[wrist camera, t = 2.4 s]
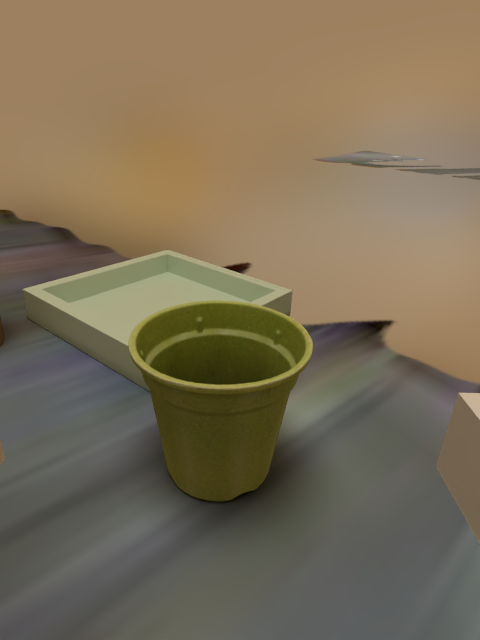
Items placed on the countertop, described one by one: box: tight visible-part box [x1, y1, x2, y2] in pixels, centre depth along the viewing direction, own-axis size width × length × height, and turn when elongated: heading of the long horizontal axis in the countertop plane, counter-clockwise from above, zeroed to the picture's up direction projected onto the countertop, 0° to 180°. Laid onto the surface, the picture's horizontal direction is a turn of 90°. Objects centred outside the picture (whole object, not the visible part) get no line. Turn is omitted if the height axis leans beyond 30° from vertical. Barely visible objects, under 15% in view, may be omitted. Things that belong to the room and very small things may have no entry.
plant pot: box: [128, 300, 313, 501], centre depth 25 cm, size 9×9×9 cm
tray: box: [23, 250, 292, 392], centre depth 43 cm, size 18×18×3 cm
